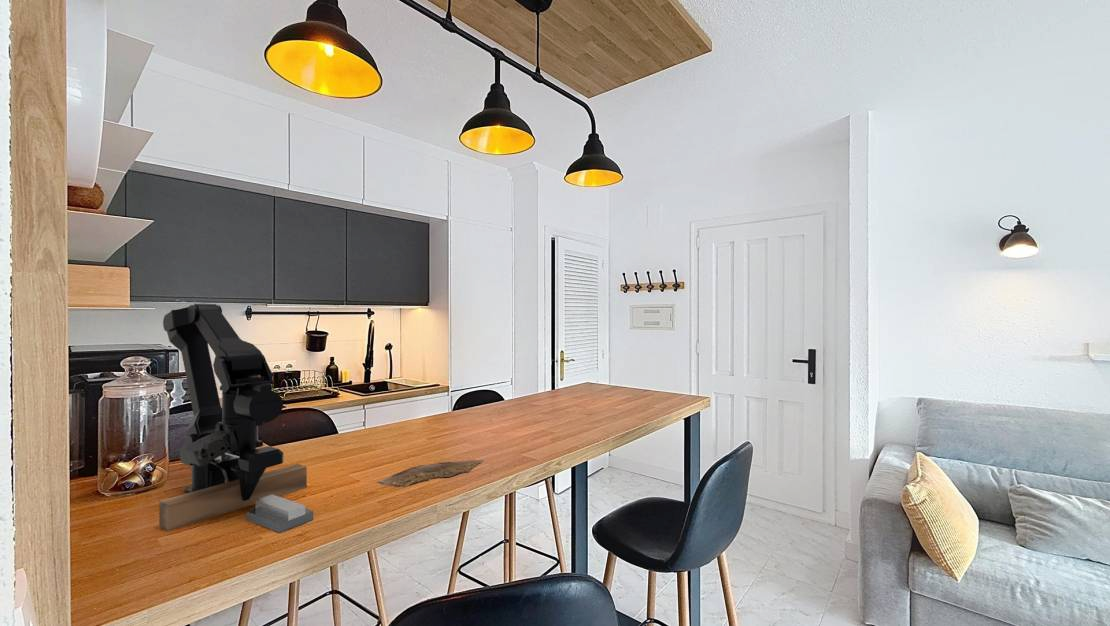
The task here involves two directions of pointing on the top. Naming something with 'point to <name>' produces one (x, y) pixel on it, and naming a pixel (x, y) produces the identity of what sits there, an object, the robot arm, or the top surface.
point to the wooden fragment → (428, 472)
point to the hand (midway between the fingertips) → (240, 498)
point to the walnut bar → (227, 497)
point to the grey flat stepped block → (279, 513)
